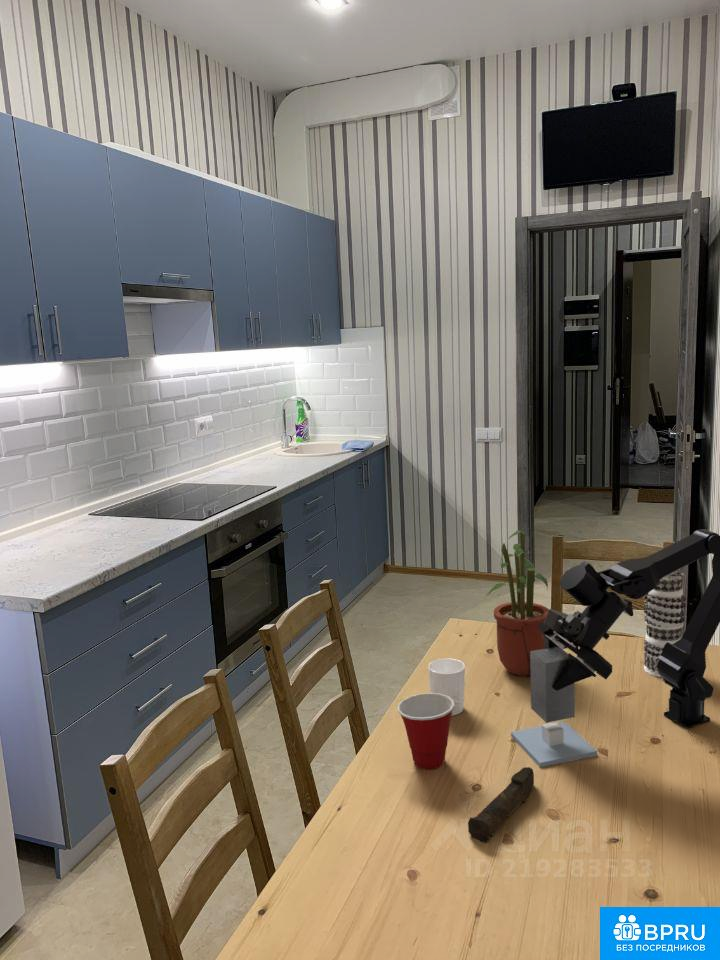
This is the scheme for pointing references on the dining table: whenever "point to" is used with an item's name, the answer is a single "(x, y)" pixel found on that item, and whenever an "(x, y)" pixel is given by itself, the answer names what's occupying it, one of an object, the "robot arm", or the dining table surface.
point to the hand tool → (502, 805)
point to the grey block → (550, 685)
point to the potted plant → (519, 614)
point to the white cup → (448, 680)
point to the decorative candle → (663, 618)
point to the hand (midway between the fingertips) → (545, 682)
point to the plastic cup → (427, 727)
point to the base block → (553, 744)
